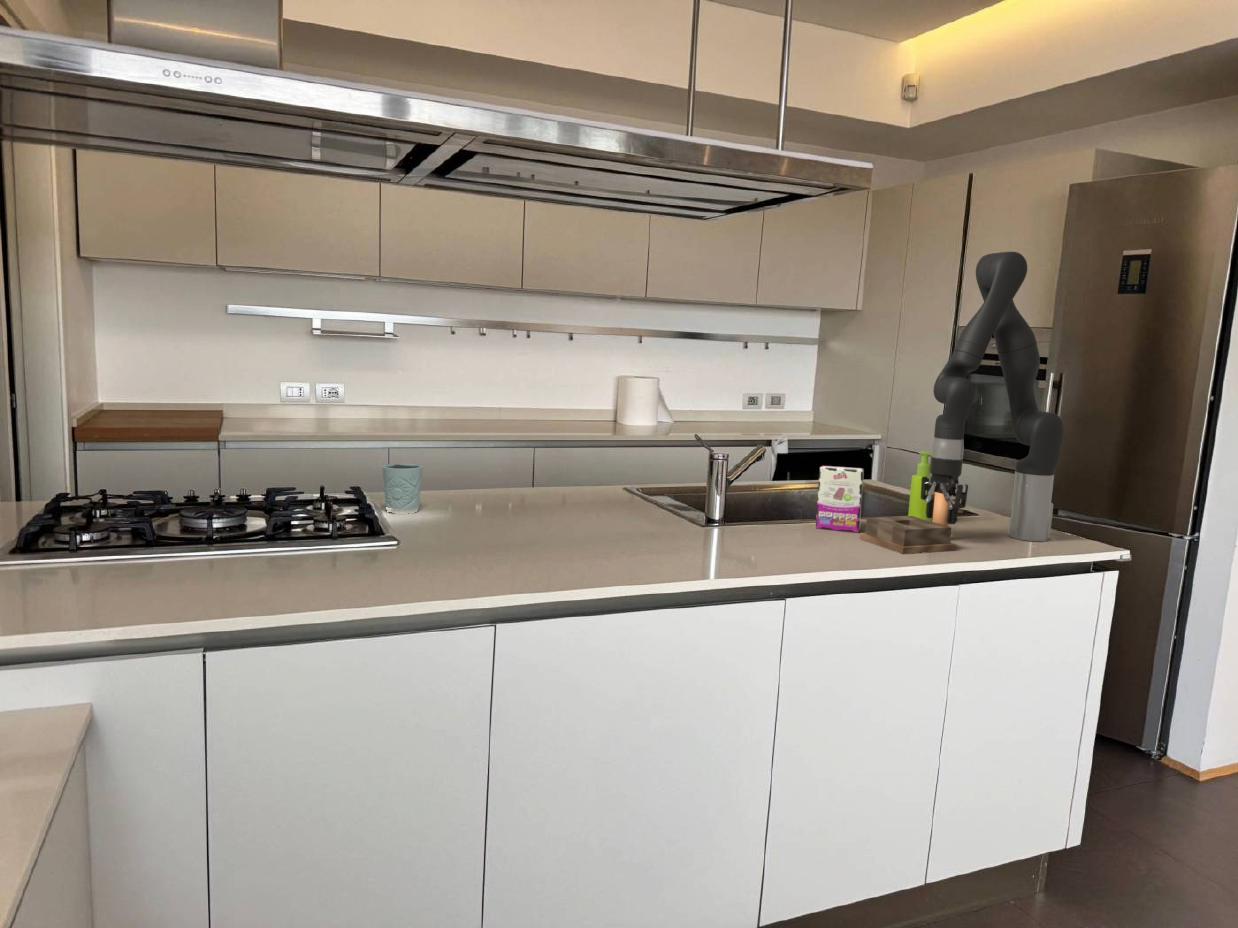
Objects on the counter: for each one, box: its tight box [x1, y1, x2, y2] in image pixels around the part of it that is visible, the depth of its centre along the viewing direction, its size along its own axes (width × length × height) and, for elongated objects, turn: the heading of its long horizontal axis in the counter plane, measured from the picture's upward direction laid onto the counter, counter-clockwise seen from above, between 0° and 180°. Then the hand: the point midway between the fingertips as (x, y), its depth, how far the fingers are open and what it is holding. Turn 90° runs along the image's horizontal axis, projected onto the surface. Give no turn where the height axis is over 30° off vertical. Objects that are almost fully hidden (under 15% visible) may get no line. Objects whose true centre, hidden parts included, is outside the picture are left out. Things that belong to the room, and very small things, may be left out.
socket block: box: [859, 515, 957, 555], centre depth 217 cm, size 16×16×6 cm
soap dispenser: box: [907, 451, 932, 521], centre depth 244 cm, size 6×7×20 cm
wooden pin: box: [931, 492, 953, 527], centre depth 224 cm, size 4×4×12 cm
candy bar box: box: [815, 465, 865, 533], centre depth 231 cm, size 11×5×16 cm, turn 71°
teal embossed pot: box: [382, 463, 423, 510], centre depth 230 cm, size 10×10×12 cm
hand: (940, 520), depth 224 cm, fingers open, 7 cm apart
